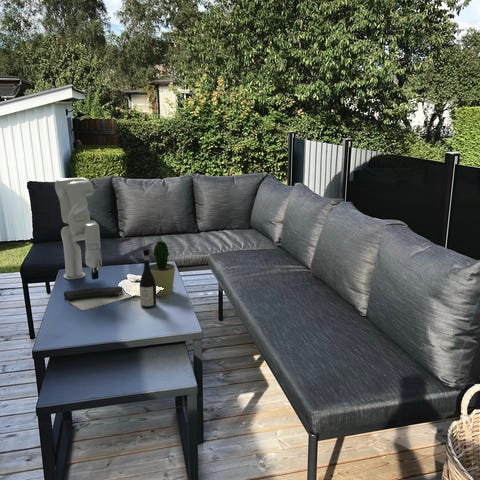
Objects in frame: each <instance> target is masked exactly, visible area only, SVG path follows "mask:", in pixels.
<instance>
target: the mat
mask: <svg viewBox="0 0 480 480" xmlns="http://www.w3.org/2000/svg"><path fill="white" fill-rule="evenodd" d="M122 290H123V289H122ZM130 298H133V296H130V295H128V294H126V293H125V292H124V291H123V293H122V294H121V295H120V296H117V297H95V298H86V299H77V300H71V301H67V300H66V302H67V303H68V304H70V305H72V306H74V307H75V308H77V309H79V310H80V311H83V312H84V311H88V310H91V309H95V308H98V307H101V306H105V305H108V304H112V303H116V302H118V301H124V300H126V299H130Z"/></svg>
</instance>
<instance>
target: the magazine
mask: <svg viewBox="0 0 480 480" xmlns="http://www.w3.org/2000/svg"><path fill="white" fill-rule="evenodd" d="M122 287H123V286H108V287H106V286H105V287H93V288H92V287H91V288H83V289H75V290H74V289H73V290H67V291H63V296H64V298H65V300H66V302H67V301H71V300H77V299H86V298H95V297H117V296H120V295H121V294H122V293H123V290H122V289H123V288H122Z"/></svg>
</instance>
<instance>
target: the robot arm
mask: <svg viewBox="0 0 480 480" xmlns="http://www.w3.org/2000/svg"><path fill="white" fill-rule="evenodd" d="M54 189H55V193H56V195H57V197H58V200H59V205H60V215H61V220H62V222H63V223H64V224H68V225H66V226H64V227H62V229H61V230H60V235H61V239H62V240H61V241H62V244H63V255H64V266H65V273H64V274H63V279H65V280H79V279H83V278H85V276H86V273H85V272H83V265H82V264H83V263H82V249H81V247H80V245H79V243H77V242H79V241H85V253H84V254H85V255H84V256H85V257H84V258H85V265H86V266H87V267H89V269H90V272H91V274H90V275H91V279H92V280H98V279H99V271H100V270H101V267H102V266H103V260H102V253H101V237H100V236H101V235H100V233H101V232H100V225H99V224H98V222H97V221H96V220H93V219H92V220H91V216H90V215H91V214H90V211H89V208H88V205H89V204H88V201H87V198H86V197H87V196H92V195H93V194H94V186H93V183H92V182H91V181H90V180H89V179H87V178H85V177H69V178H68V177H67V178H58V179H57V180H56V181H55V182H54Z"/></svg>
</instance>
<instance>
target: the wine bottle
mask: <svg viewBox="0 0 480 480" xmlns="http://www.w3.org/2000/svg"><path fill="white" fill-rule="evenodd" d="M142 253H143V264H144V265H143V271H142V275H141V278H140V279H139V280H140V281H139V300H140V301H139V303H140V306H141V307H142V308H144V309H152V308H154V307H156V306H157V296H156V284H155V280H154V277H153V275H152V273H151V270H150V265H151V264H150V249H148V248H145V249H143V250H142Z"/></svg>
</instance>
